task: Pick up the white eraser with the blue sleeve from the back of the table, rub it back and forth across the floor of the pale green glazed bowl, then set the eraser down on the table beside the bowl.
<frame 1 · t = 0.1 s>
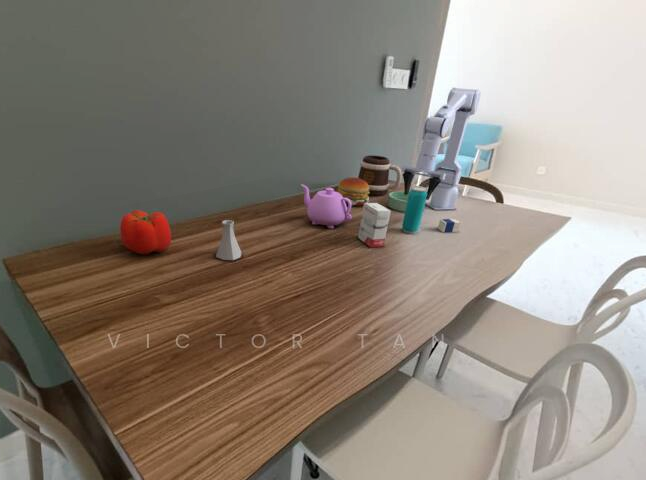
hand: (416, 197, 137), 10 cm above the table, tool pointing down, fingers open, 7 cm apart
red bell pepper: (149, 250, 112), on the table
ink box: (370, 242, 127), on the table
mug: (376, 193, 178), on the table
beverage can: (409, 232, 137), on the table
eraser: (447, 230, 140), on the table
teapot: (323, 222, 140), on the table
burger: (351, 203, 163), on the table
bowl: (404, 207, 161), on the table
flask: (228, 256, 112), on the table
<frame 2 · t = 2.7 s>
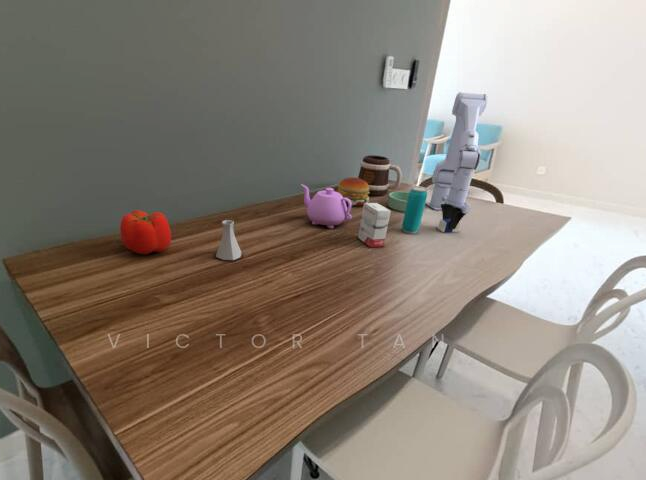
hand: (448, 226, 140), 1 cm above the table, tool pointing down, fingers closed on eraser, 3 cm apart
eraser: (447, 230, 140), on the table, touching gripper
everything else where it was.
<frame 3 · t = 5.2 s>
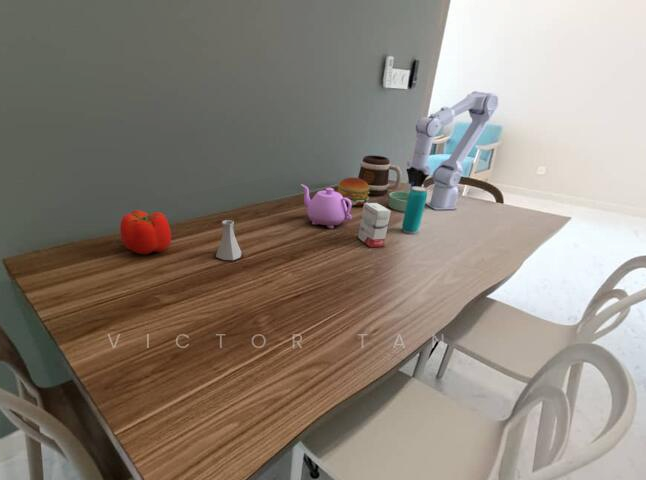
hand: (413, 189, 154), 8 cm above the table, tool pointing down, fingers closed on eraser, 3 cm apart
eraser: (412, 192, 155), point 7 cm above the table, touching gripper
everything else where it was.
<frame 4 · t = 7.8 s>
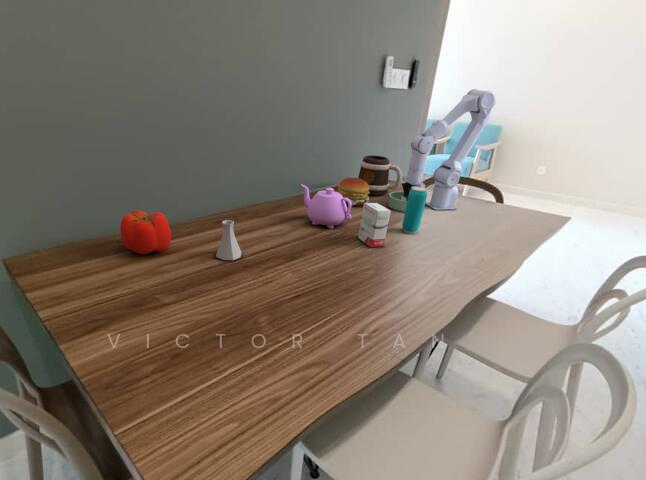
hand: (408, 202, 160), 2 cm above the table, tool pointing down, fingers closed on eraser, 3 cm apart
eraser: (408, 205, 161), point 1 cm above the table, touching bowl, gripper
everything else where it was.
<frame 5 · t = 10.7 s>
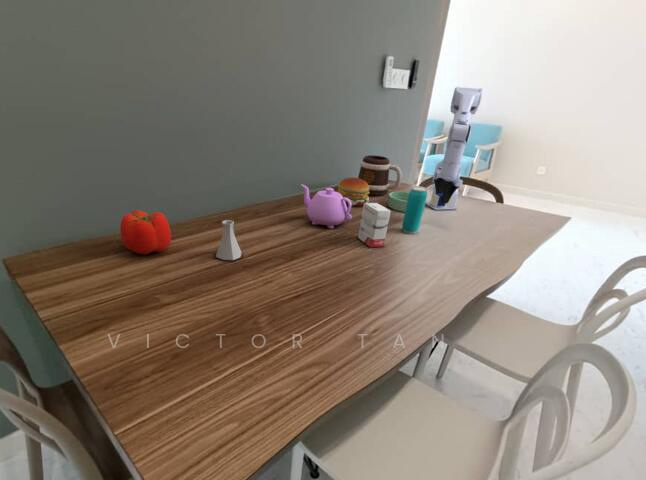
hand: (441, 201, 142), 8 cm above the table, tool pointing down, fingers closed on eraser, 3 cm apart
eraser: (440, 204, 143), point 7 cm above the table, touching gripper
everything else where it was.
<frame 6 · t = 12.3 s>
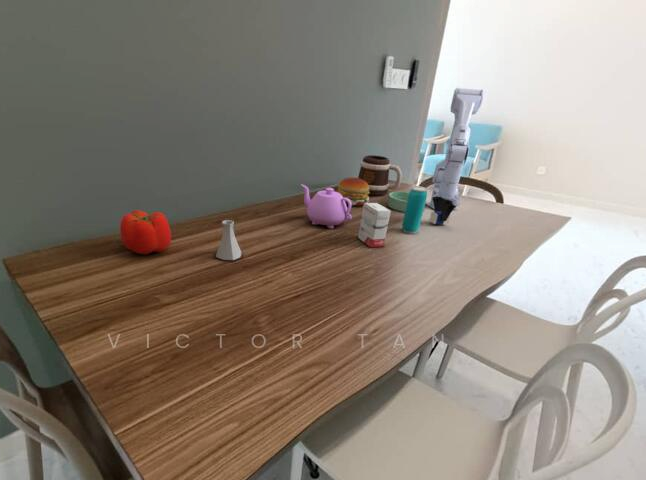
hand: (440, 218, 144), 2 cm above the table, tool pointing down, fingers closed on eraser, 3 cm apart
eraser: (438, 222, 145), point 1 cm above the table, touching gripper
everything else where it was.
when the fingers open (1 cm above the table, at t = 12.9 s): eraser stays where it is, on the table.
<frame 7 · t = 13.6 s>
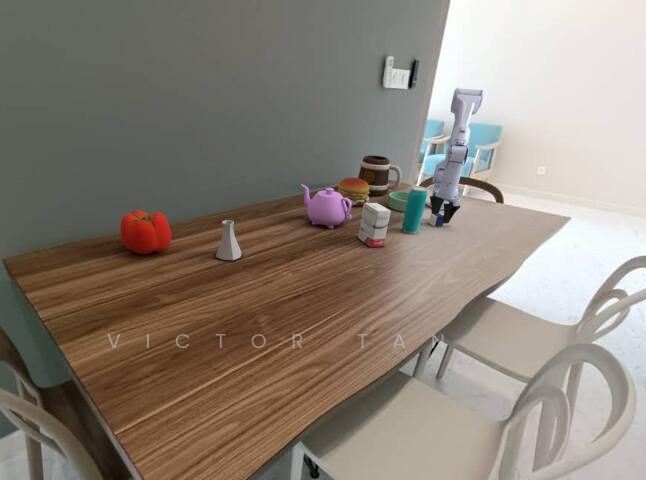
hand: (439, 219, 144), 2 cm above the table, tool pointing down, fingers open, 7 cm apart
eraser: (438, 224, 145), on the table
everything else where it was.
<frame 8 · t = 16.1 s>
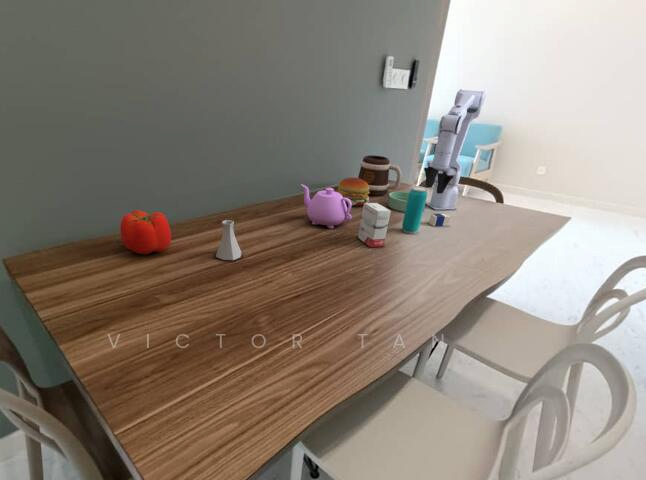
hand: (434, 190, 147), 10 cm above the table, tool pointing down, fingers open, 7 cm apart
nothing on the table moved.
at the end: eraser inside the target area on the table beside the bowl (0.5 cm from its centre), on the table; eraser tilted 0°; the gripper is holding nothing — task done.
